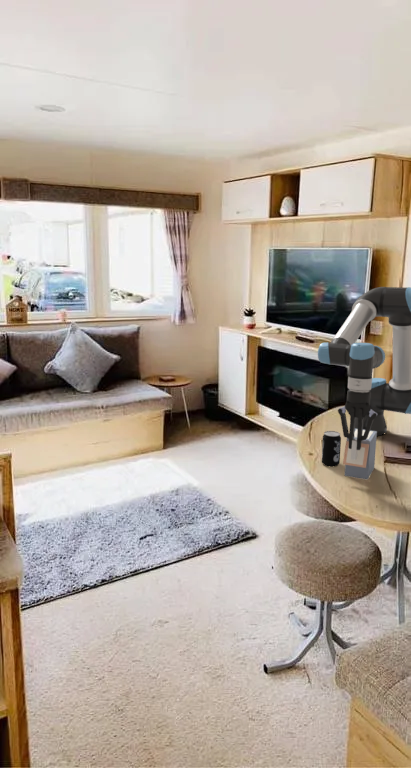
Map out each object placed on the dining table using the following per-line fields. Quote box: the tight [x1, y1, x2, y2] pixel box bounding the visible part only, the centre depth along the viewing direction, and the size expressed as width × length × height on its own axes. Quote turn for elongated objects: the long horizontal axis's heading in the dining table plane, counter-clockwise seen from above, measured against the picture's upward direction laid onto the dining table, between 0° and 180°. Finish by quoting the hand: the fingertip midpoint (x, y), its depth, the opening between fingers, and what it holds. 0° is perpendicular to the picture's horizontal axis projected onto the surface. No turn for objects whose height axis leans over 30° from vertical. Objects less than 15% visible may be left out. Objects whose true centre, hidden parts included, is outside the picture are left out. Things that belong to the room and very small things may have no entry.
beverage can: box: [321, 430, 342, 468], centre depth 206 cm, size 7×7×12 cm
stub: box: [342, 440, 369, 468], centre depth 190 cm, size 8×8×1 cm
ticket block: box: [344, 429, 377, 481], centre depth 198 cm, size 12×8×14 cm, turn 153°
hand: (353, 458), depth 188 cm, fingers closed
